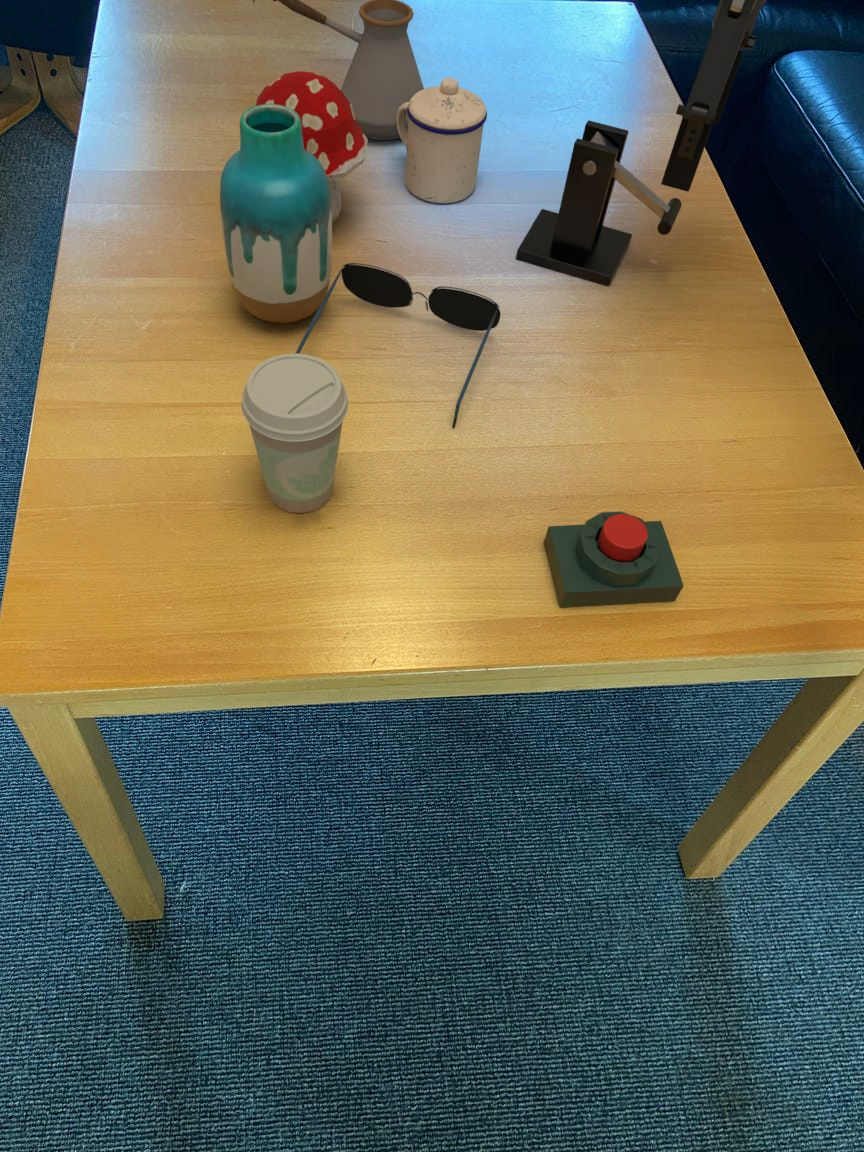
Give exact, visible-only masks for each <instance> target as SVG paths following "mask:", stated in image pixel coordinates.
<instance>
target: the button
mask: <svg viewBox="0 0 864 1152" xmlns="http://www.w3.org/2000/svg"><path fill="white" fill-rule="evenodd" d="M630 515H631V514H630ZM630 515H626V514H617V515H614V516H611V517H610V518H608V519H607V520H606V521H605V523H604V525H603V528H602V530H601V533H600V535H599V538H598V544H599V547H600V549H601V551H602V552H603V553H604V554H605V555H606V556H608V557H609V558H611V559H613V560H616V561H631V560H633V559H635V558H636V557H638V556H639V554H640V553H641V551H642V549H643V546H644V544H645V542H646V540H647V537H648V533H647V529H646V527H645V525H644V524H643V523H642V522H641V521H640V520H638V519H637V518H635V517H636V516H635V517H633V516H634V515H632V516H630Z"/></svg>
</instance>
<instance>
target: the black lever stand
mask: <svg viewBox="0 0 864 1152" xmlns="http://www.w3.org/2000/svg"><path fill="white" fill-rule="evenodd" d="M597 131H598V132H599V133H600V134H601V135H602V136H604V137H605V138H606V139H607V140H608V141H609V142H611V143H612V144H613V145H614V146H615V147H616V148H617V149H616V148H613V147H609V146H605V145H601V144H597V143H594V142H590V140H591V139H592V137H593V136H594V135H595V133H596V132H597ZM628 135H629V130H628V129H624V128H620V127H617V126H612V125H608V124H604V123H600V122H597V121H593V120H587V121H586V122H585V126H584V129H583V134H582V137H581V138H578V137H577V138H576V140H575V141H574V143H573V147H572V152H571V155H570V156H571V157H570V161H569V165H568V170H567V173H566V179H565V183H564V188H563V192H562V197H561V201H560V205H559V210H558V212H555V211H551V210H547V209H545V208H541V210H540V211H539V213H538V215H537V216H536V217H535V219H534V220H533V223H532V225H531V226H530V228H529V229H528V231H527V233H526V235H525V236H524V238H523V240H522V241H521V243H520V244H519V247H518V248H517V251H516V255H515V259H516V260H517V261H518V260H519V261H522V262H525V263H528V264H532V265H535V266H539V267H542V268H545V269H549V270H552V271H556V272H559V273H562V274H566V275H569V276H572V277H576V278H579V279H582V280H586V281H590V282H593V283H596V284H600V285H603V286H607V287H610V286H611V283H612V281H613V280H614V277H615V275H616V273H617V271H618V268H619V267H620V264H621V262H622V260H623V258H624V256H625V254H626V252H627V250H628V248H629V245H630V243H631V240H632V237H633V234H632V233H630V232H626V231H622V230H619V229H615V228H613V227H608V226H605V225H604V223H605V220H606V216H607V212H608V208H609V205H610V200H611V197H612V193H613V190H614V186H615V183H616V180H615V179H614V178H613V177H612V173H613V169H614V165H615V162H616V161H617V162H619V163H620V164H621V160H622V158H623V153H624V150H625V146H626V143H627V139H628Z"/></svg>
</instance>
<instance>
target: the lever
mask: <svg viewBox="0 0 864 1152" xmlns="http://www.w3.org/2000/svg"><path fill="white" fill-rule="evenodd" d="M590 142H594V143H597V144H601V145H605V146H609V147H613V148H616V147H615V146H614V145H613V144H612V143H611V142H609V141H608V140H607V139H606V138H605V137H604V136H602V135H601V134H600V133H599V132H598V131H597V132H596V133H595V135H594V136H593V137H592V139H591V140H590ZM616 149H617V148H616ZM612 177H613V178H614V179H615V181H616V182H617V183H619V184H620V185H621V186H622V187H623V188H624V189H626V190H627V191H628V192H629V193H630V194H631V195H633V196H634V197H635V198H636V199H638V201H639V202H641V203H642V204H643V205H644V206H645V207H647V209H649V210H650V211H651V212H652V213H654V214H655V215H656V216H657V217H659V219H660V220H659V222H658V225H657V227H656V230H657V232H658V234H660V235H661V236H666V235H669V234H670V232H671V231H672V229H673V226H674V224H675V222H676V219H677V217H678V215H679V213H680V210H681V208H682V200H681V199H680V198H677V197H673V198H670V199H669V201H668V203H666V202H665V201H664V200H662V198H660V197H659V196H658V195H657V194H656V193H655V192H653V190H651V189H650V188H649V187H648V186H646V185H645V184H644V182H642V181H641V180H639V179H638V178H637V177H636V175H634V174H633V173H632V172H631V171H629V170H628V169H627V168H626V167H625V166H623V164H621V162H620V163H619V162H617V161H616V162H615V165H614V169H613V173H612Z"/></svg>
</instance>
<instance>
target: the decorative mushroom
mask: <svg viewBox="0 0 864 1152" xmlns="http://www.w3.org/2000/svg"><path fill="white" fill-rule="evenodd" d="M263 104H276V105H282V106H286V107H288V108H290V109H292V110H294V111H295V112H296V113H297V114H298V115H299V117H300V119H301V124H302V135H303V144H304V149H305V150H307V151H308V152H310V153H311V154H313V155H314V156H315V157H316V158H317V159H318V160H319V161H320V163H321V165H322V166H323V168H324V170H325V173H326V176H327V179H328V184H329V190H330V198H331V212H332V224H333V223H334V222H335V221H336V219H337V218H338V217H339V215H340V212H341V206H342V195H341V190H340V187H339V186H338V184H337V182H336V181H335V180H339V179H345V178H346V177H347V176H348V175H350V174H351V173H352V172H353V171H356V169H358V168H359V167H360V166H361V165H362V164H364V162H365V159H366V156H367V155H366V154H367V149H368V140H369V138H368V137H366V136H365V135H364V134H363V132H362V131H361V129H360V128H359V126H358V125H357V122H356V119H355V115H354V111H353V108H352V105H351V103H350V102H349V101H348V99H347V98H346V96H345V95H344V94H343V93H342V91H341V88H339V87H338V85H336V83H334V82H333V81H332V80H330V79H329V78H328V77H326V76H324V75H321V74H319V73H316V72H313V71H300V70H297V71H291V72H286V73H283V74H282V75H280V76H279V77H277V78H275V79H274V80H273V81H271V82H270V83H269V84H267V85H266V86H265V87H264V88H263V89H262V90H261V92H260V94H259V95H258V97H257V99H256V101H255V105H254V106H258V105H263Z"/></svg>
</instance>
